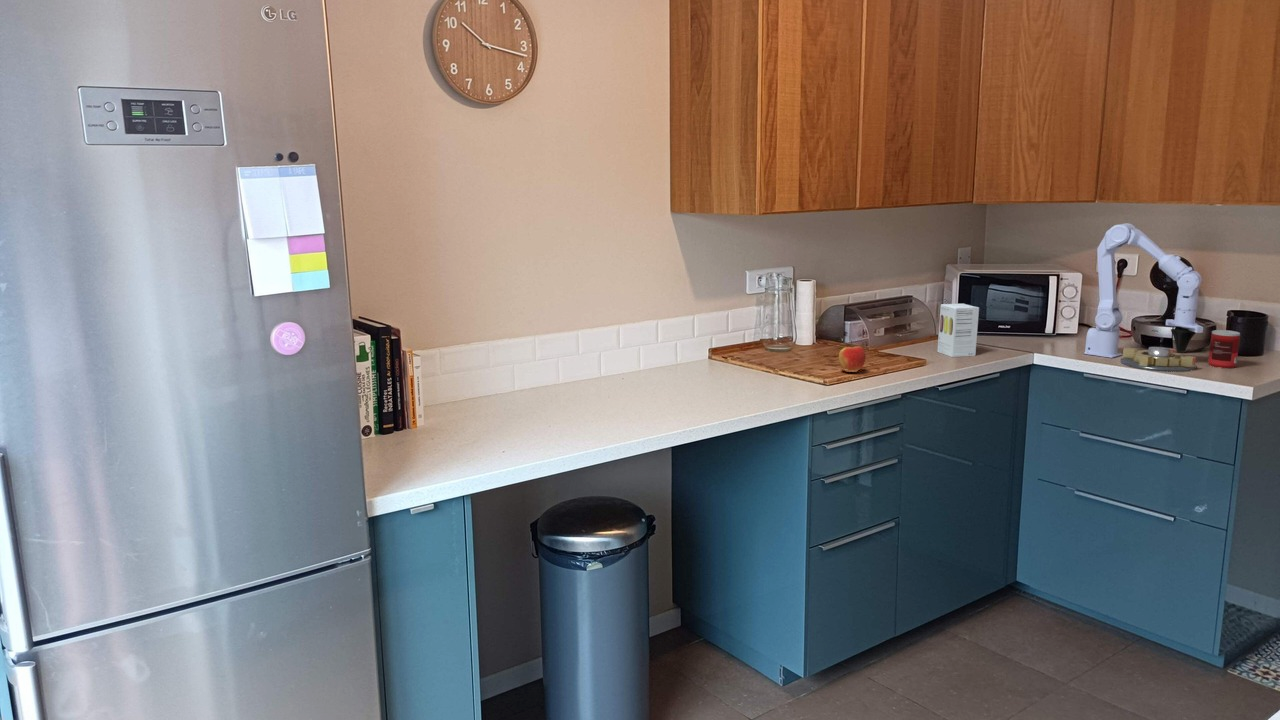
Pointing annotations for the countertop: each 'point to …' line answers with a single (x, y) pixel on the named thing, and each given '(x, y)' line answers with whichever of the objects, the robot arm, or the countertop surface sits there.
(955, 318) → the supplement box
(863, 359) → the apple
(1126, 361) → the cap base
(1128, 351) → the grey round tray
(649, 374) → the countertop surface
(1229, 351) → the canned food
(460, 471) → the countertop surface
